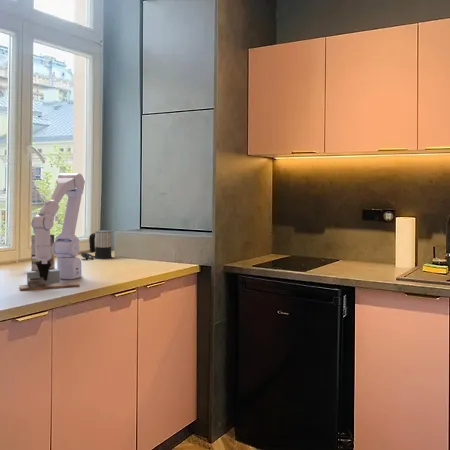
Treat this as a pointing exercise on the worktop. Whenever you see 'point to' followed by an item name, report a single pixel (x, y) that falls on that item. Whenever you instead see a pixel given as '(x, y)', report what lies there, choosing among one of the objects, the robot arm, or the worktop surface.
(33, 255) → the coffee box
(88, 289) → the worktop surface
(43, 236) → the robot arm
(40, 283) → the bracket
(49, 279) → the rail
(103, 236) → the milk frother
